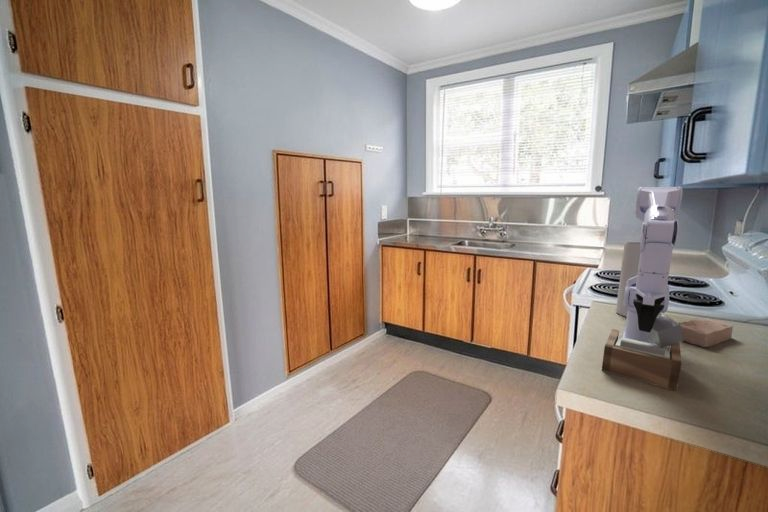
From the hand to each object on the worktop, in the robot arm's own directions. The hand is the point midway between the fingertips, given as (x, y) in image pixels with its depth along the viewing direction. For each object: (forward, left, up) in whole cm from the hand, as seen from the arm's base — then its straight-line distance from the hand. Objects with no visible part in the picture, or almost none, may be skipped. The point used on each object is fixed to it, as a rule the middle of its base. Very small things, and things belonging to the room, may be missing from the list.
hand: (645, 327), depth 82 cm
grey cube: (-3, +4, -3) cm, 6 cm away
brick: (-32, +13, -10) cm, 36 cm away
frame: (+3, 0, -9) cm, 10 cm away
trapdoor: (+2, 0, -5) cm, 6 cm away
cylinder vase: (-44, -3, -10) cm, 45 cm away
